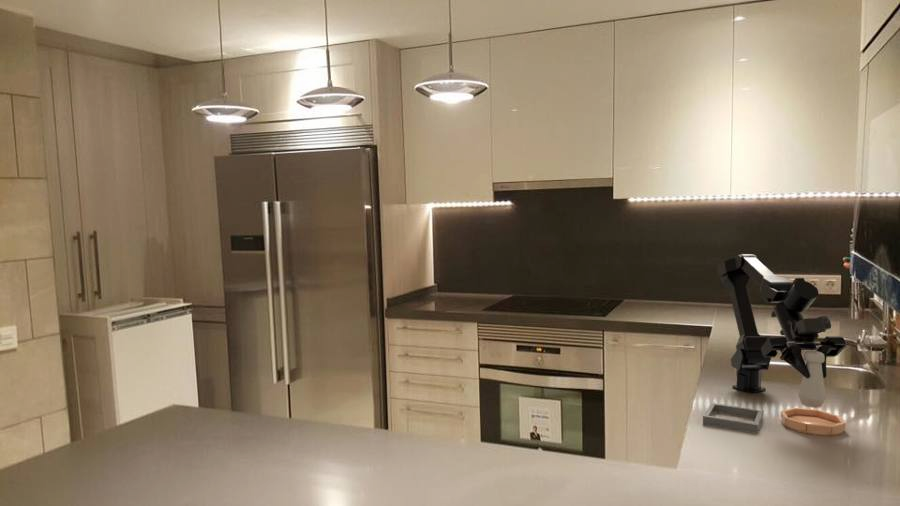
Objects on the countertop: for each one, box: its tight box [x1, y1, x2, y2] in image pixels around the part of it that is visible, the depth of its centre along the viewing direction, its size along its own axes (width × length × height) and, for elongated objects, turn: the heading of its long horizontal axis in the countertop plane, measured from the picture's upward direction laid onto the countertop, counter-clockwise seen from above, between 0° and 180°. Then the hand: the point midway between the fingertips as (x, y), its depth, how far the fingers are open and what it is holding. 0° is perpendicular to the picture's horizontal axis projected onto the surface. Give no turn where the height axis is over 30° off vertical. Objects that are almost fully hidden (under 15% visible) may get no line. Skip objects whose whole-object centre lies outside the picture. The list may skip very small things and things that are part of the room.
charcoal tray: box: [702, 402, 764, 434], centre depth 155 cm, size 12×12×2 cm
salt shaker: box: [798, 350, 827, 409], centre depth 151 cm, size 6×6×13 cm
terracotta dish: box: [779, 407, 847, 437], centre depth 151 cm, size 13×13×2 cm
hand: (816, 377), depth 149 cm, fingers closed on salt shaker, 3 cm apart
